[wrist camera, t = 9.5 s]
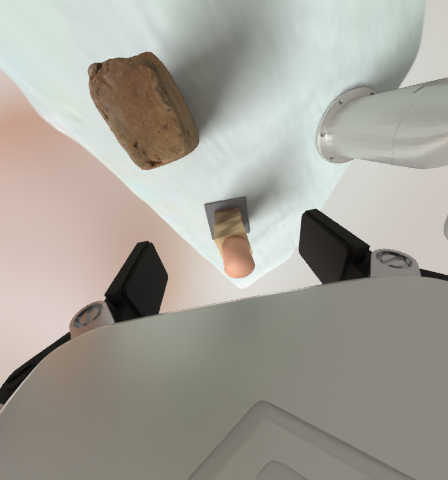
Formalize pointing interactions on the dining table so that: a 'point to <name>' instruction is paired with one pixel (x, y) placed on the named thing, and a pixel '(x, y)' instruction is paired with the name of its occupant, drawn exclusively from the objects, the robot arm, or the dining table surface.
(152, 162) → the block
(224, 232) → the tower top
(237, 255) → the peach egg-shaped pebble
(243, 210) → the mat
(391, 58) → the dining table surface
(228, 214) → the block
